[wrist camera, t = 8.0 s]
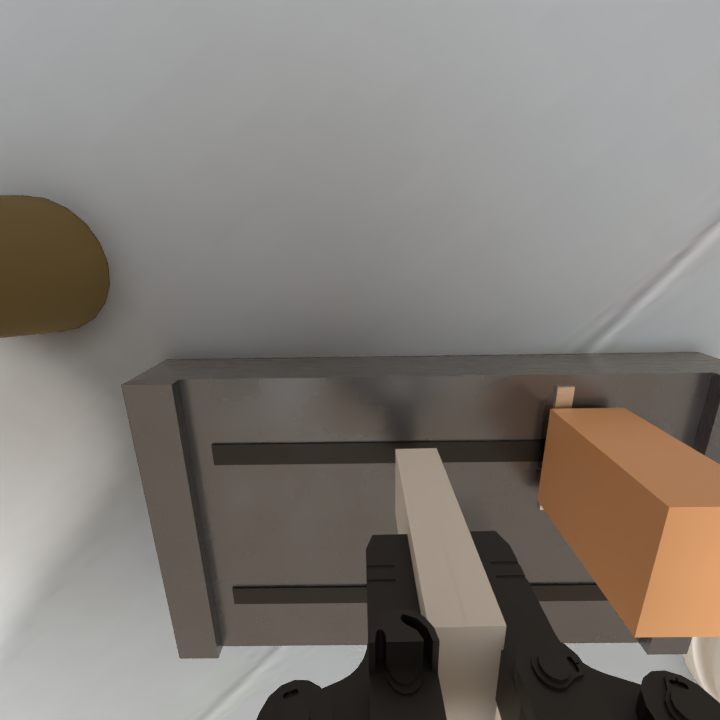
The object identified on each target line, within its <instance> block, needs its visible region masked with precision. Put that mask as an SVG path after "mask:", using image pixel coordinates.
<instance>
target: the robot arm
mask: <svg viewBox="0 0 720 720" xmlns="http://www.w3.org/2000/svg"><path fill="white" fill-rule="evenodd" d="M395 515H396V522H397V529H398V534H386V535H372V537H371V539H370V541H369V543H368V546H367V548H366V580H367V621H368V644H367V650H366V653H365V656H364V659H363V660H362V662H361V663H360V665H359V667H358V668H357V669H356V670H355V671H354V672H353V673H352V674H351V675H349V676H348V677H346V678H344V679H343V680H341V681H339V682H336V683H334V684H332V685H329V686H327V687H324V688H322V689H321V687H320V686H318V685H316V684H314V683H312V682H310V681H308V680H294V681H291V682H289V683H286V684H284V685H282V686H280V687H279V688H278V689H277V690H276V691H275V692H274V693H273V694H271V695H270V696H269V697H268V699H267V701H266V703H265V704H264V706H263V708H262V709H261V711H260V713H259V715H258V718H257V720H495V715H496V707H498V710H499V713H500V716H501V720H720V703H719V702H718V701H717V700H716V699H715V698H714V697H712V696H711V695H710V694H709V693H708V692H706V691H705V690H704V689H703V688H702V687H700V686H699V685H697V684H695V683H694V682H692V681H690V680H688V679H686V678H685V677H683V676H681V675H678V674H674V673H671V672H668V671H651V672H650V673H649V674H648V675H646V676H645V677H644V678H643V680H642V684H641V685H640V684H637V683H634V682H630V681H627V680H624V679H621V678H617V677H614V676H611V675H608V674H605V673H602V672H600V671H597V670H595V669H592V668H591V667H589V666H587V665H586V664H584V663H583V662H582V661H581V659H580V658H579V657H578V655H577V654H575V653H574V652H573V651H572V650H571V649H570V648H568V647H567V646H566V645H565V644H563V643H561V642H560V640H559V639H558V637H557V636H556V634H555V632H554V630H553V628H552V627H551V625H550V623H549V621H548V619H547V617H546V615H545V613H544V611H543V609H542V607H541V605H540V603H539V601H538V599H537V597H536V595H535V593H534V591H533V589H532V588H531V586H530V584H529V582H528V580H527V579H526V578H525V574H524V572H523V570H522V568H521V566H520V564H518V560H517V558H516V556H515V554H514V552H513V550H512V548H511V547H510V545H509V544H508V543H507V542H506V541H505V540H504V539H503V538H502V537H501V536H500V535H499V534H498V533H497V532H496V531H469V529H468V527H467V524H466V522H465V519H464V517H463V514H462V512H461V509H460V506H459V504H458V501H457V499H456V496H455V494H454V491H453V489H452V486H451V484H450V481H449V479H448V476H447V473H446V471H445V468H444V466H443V463H442V461H441V458H440V456H439V453H438V451H437V448H420V449H395Z"/></svg>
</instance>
